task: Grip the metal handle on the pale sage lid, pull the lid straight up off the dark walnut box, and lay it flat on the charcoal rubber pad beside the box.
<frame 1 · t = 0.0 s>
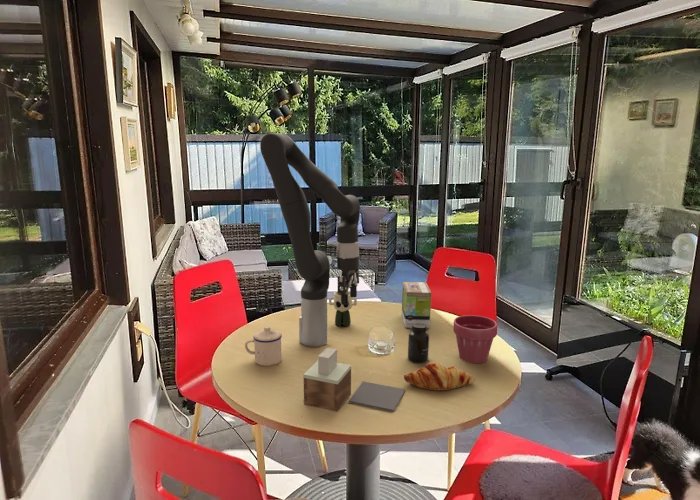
hand: (349, 300, 166), 17 cm above the table, tool pointing down, fingers open, 8 cm apart
tea box: (415, 322, 195), on the table
teacup with lid: (263, 361, 159), on the table
croissant: (439, 385, 144), on the table
character mug: (342, 324, 191), on the table
lid: (327, 376, 133), point 7 cm above the table, touching walnut box
rubber pad: (377, 396, 136), on the table
walnut box: (327, 399, 135), on the table
plant pot: (472, 358, 162), on the table
supplement bottle: (417, 359, 161), on the table
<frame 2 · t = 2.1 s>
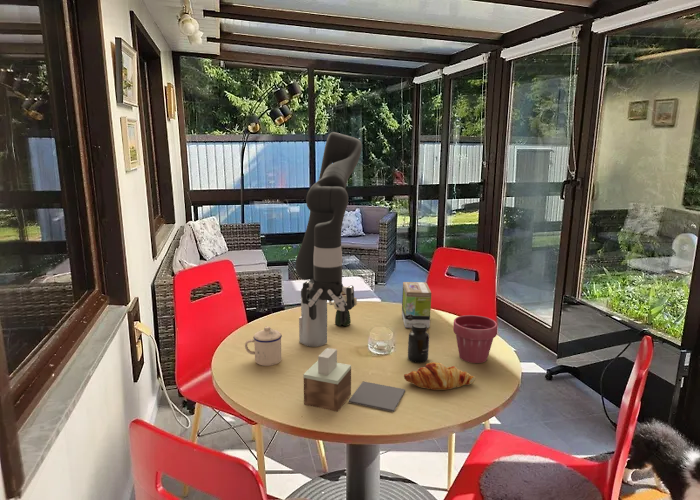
hand: (328, 321, 130), 23 cm above the table, tool pointing down, fingers open, 8 cm apart
nothing on the table moved.
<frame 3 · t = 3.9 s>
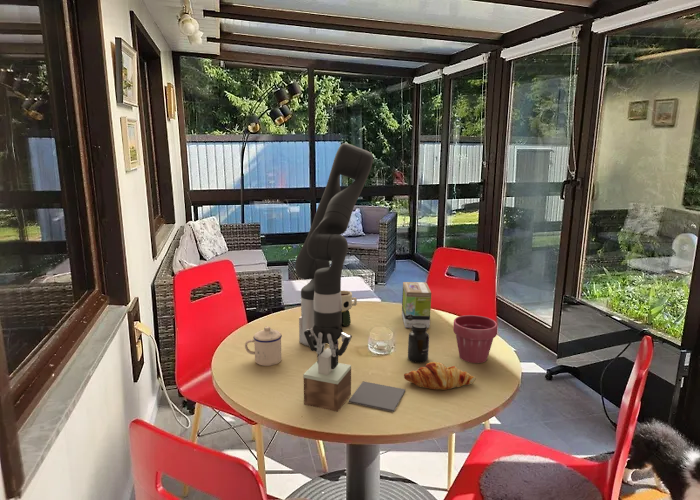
hand: (327, 366, 133), 10 cm above the table, tool pointing down, fingers closed on lid, 3 cm apart
lid: (327, 376, 133), point 7 cm above the table, touching gripper, walnut box
everything else where it was.
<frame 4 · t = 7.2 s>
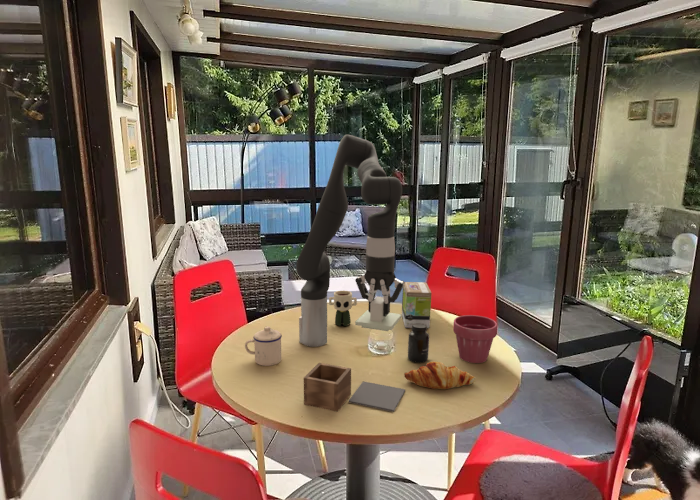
hand: (379, 314, 131), 25 cm above the table, tool pointing down, fingers closed on lid, 3 cm apart
lid: (378, 324, 132), point 22 cm above the table, touching gripper
everything else where it was.
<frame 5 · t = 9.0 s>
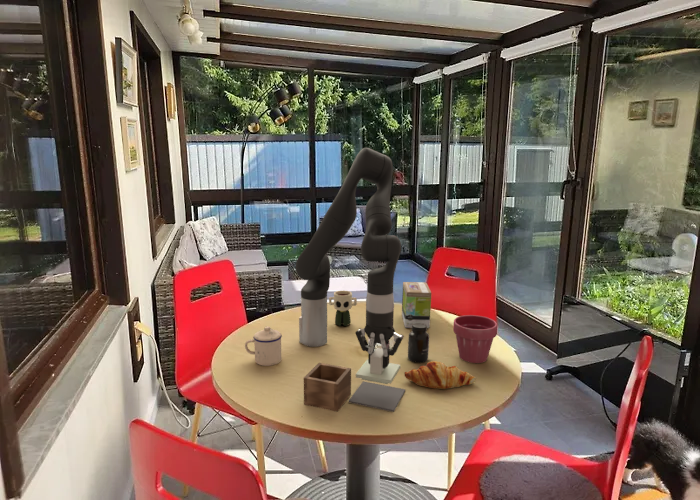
hand: (378, 366, 134), 9 cm above the table, tool pointing down, fingers closed on lid, 3 cm apart
lid: (378, 375, 135), point 6 cm above the table, touching gripper
everything else where it was.
when the fingers open (5 cm above the table, at t = 10.5 s): lid drops 1 cm, resting on rubber pad.
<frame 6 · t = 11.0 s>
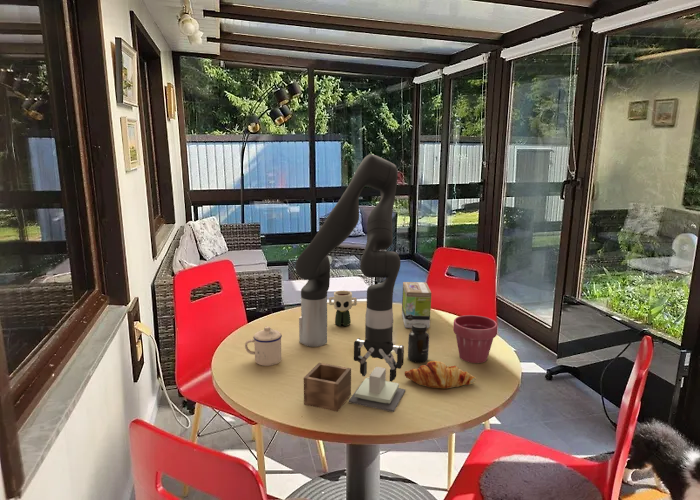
hand: (378, 377, 135), 6 cm above the table, tool pointing down, fingers open, 7 cm apart
lid: (377, 394, 136), point 1 cm above the table, touching rubber pad
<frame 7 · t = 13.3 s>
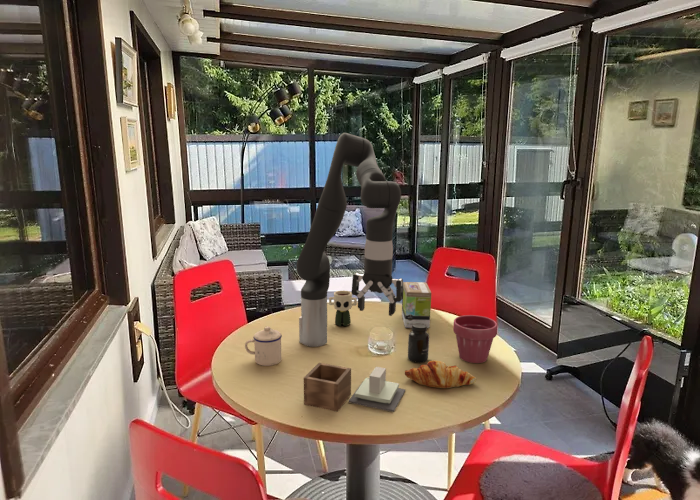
hand: (376, 312, 134), 24 cm above the table, tool pointing down, fingers open, 8 cm apart
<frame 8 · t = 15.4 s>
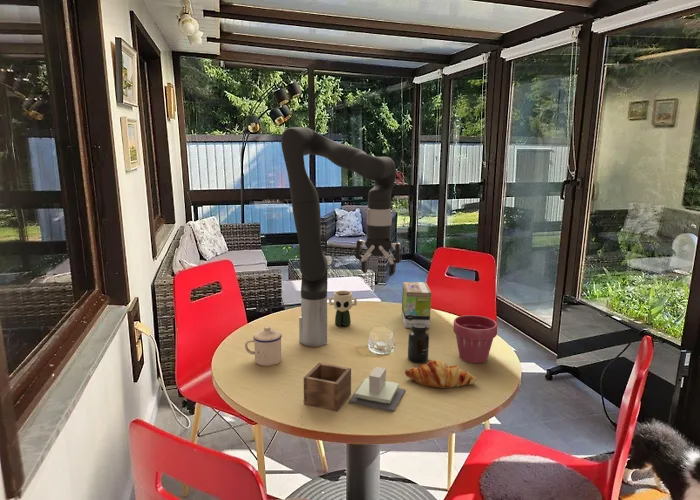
hand: (378, 274, 151), 30 cm above the table, tool pointing down, fingers open, 8 cm apart
at the end: lid 0.1 cm off-centre on the rubber pad, point 0.6 cm above the rubber pad's base; lid tilted 0°; the gripper is holding nothing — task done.
